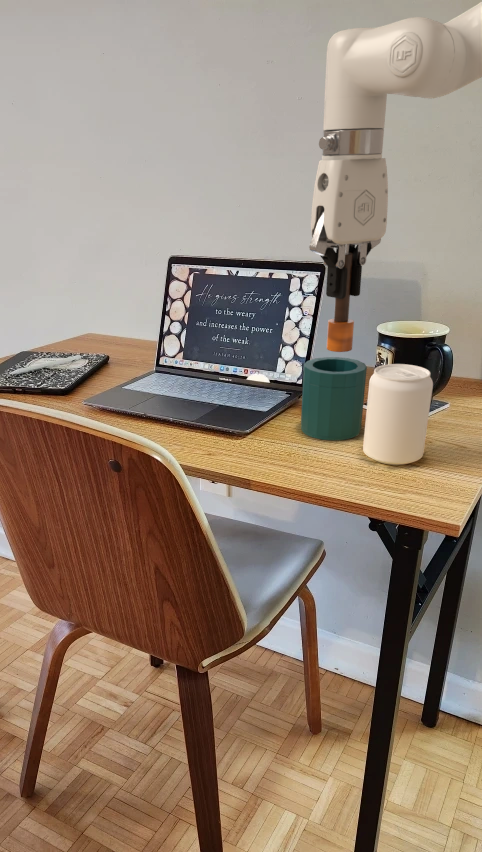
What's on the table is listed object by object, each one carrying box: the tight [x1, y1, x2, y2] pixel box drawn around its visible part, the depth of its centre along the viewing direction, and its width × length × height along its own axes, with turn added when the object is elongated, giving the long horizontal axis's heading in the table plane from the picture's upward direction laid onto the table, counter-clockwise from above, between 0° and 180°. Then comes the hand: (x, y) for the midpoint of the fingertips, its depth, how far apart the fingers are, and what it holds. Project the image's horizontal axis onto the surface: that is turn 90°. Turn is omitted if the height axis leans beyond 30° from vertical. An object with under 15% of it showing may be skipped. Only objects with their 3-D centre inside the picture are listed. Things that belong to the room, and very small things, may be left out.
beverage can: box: [362, 363, 434, 466], centre depth 93 cm, size 8×8×12 cm
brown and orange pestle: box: [326, 252, 355, 353], centre depth 96 cm, size 4×4×13 cm
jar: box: [300, 356, 368, 441], centre depth 102 cm, size 9×9×10 cm
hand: (342, 294), depth 95 cm, fingers closed on brown and orange pestle, 2 cm apart
